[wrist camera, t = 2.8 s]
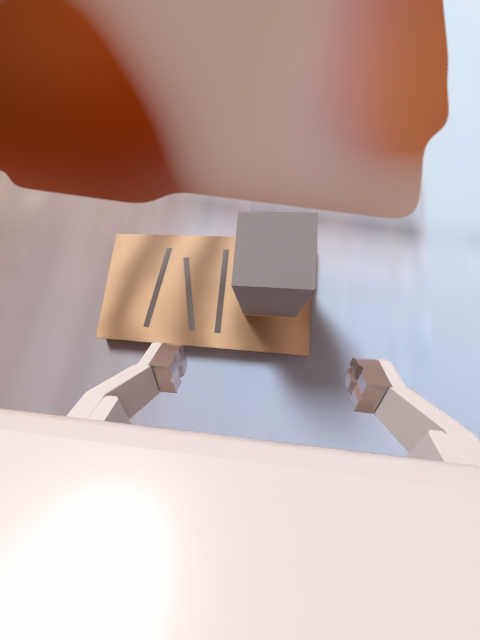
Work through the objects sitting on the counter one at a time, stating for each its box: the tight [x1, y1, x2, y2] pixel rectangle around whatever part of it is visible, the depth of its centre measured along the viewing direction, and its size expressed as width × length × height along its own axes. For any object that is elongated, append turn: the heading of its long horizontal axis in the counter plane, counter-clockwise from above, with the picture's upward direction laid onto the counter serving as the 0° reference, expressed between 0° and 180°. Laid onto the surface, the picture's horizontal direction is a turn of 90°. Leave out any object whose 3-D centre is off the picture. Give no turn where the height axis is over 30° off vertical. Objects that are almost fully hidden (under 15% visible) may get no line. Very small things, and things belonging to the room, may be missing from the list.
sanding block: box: [231, 212, 318, 318], centre depth 18 cm, size 5×5×9 cm
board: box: [96, 234, 311, 356], centre depth 24 cm, size 22×12×2 cm, turn 85°
